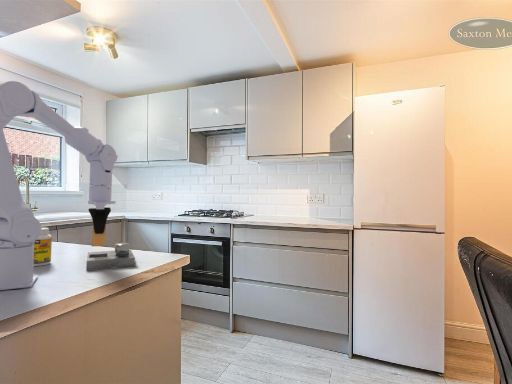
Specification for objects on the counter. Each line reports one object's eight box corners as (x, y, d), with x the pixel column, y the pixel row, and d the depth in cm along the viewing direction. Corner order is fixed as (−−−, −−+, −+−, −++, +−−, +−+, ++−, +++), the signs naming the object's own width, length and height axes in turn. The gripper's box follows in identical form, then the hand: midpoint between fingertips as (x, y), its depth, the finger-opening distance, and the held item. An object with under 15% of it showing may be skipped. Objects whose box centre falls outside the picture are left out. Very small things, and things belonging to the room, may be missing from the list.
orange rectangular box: (91, 246, 82) (93, 221, 82) (92, 244, 85) (93, 220, 85) (104, 246, 83) (106, 221, 83) (104, 244, 86) (105, 220, 86)
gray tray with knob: (86, 270, 77) (86, 249, 77) (87, 260, 88) (88, 242, 88) (134, 266, 83) (135, 247, 83) (130, 257, 94) (131, 240, 94)
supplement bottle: (25, 267, 78) (26, 230, 78) (27, 263, 83) (28, 227, 83) (50, 265, 81) (51, 229, 81) (51, 261, 86) (52, 226, 86)
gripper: (117, 186, 80) (115, 235, 80) (114, 186, 92) (113, 229, 92) (87, 185, 76) (86, 236, 76) (89, 185, 89) (87, 229, 89)
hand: (99, 232), depth 84 cm, fingers closed on orange rectangular box, 3 cm apart
